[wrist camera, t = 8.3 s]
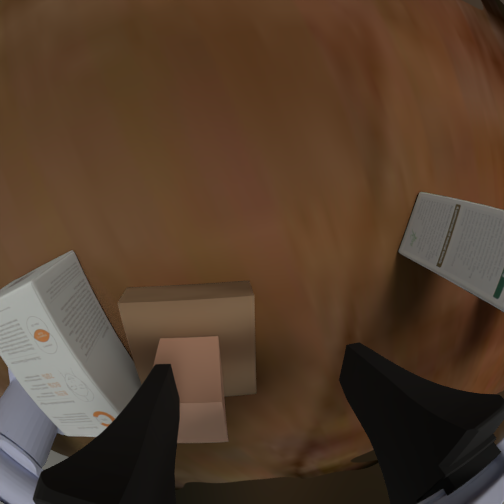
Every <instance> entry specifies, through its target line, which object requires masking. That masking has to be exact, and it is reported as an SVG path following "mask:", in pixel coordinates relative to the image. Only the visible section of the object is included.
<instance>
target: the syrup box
mask: <svg viewBox="0 0 504 504" xmlns="http://www.w3.org/2000/svg"><path fill="white" fill-rule="evenodd" d="M398 252H399V253H400V254H401V255H403V256H405V257H407V258H409V259H411V260H413V261H414V262H416V263H418V264H420V265H421V266H423V267H425V268H427V269H429V270H431V271H433V272H434V273H436V274H438V275H440V276H442V277H443V278H445V279H447V280H449V281H450V282H452V283H454V284H456V285H458V286H459V287H461V288H463V289H464V290H466V291H468V292H469V293H471V294H473V295H475V296H477V297H478V298H480V299H482V300H484V301H486V302H487V303H489V304H491V305H492V306H494V307H496V308H498V309H499V310H501V311H503V312H504V210H502V209H498V208H494V207H490V206H486V205H483V204H478V203H473V202H469V201H465V200H460V199H455V198H451V197H446V196H441V195H436V194H431V193H425V192H420V193H419V195H418V197H417V200H416V203H415V206H414V208H413V211H412V214H411V217H410V220H409V223H408V226H407V229H406V232H405V234H404V237H403V240H402V242H401V245H400V248H399V251H398Z"/></svg>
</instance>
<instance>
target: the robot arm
mask: <svg viewBox="0 0 504 504" xmlns="http://www.w3.org/2000/svg"><path fill="white" fill-rule="evenodd" d="M8 371H9V379H10V385H9V386H8V388H7V389H6V391H5V392H4V394H3V395H2V397H1V398H0V501H1V502H3V503H4V504H176V498H175V476H174V469H175V456H176V447H177V438H178V430H179V421H180V398H179V394H178V391H177V387H176V383H175V379H174V375H173V371H172V367H171V364H156V365H155V366H154V367H153V368H152V370H151V371H150V373H149V375H148V376H147V378H146V379H145V381H144V382H143V384H142V385H141V387H140V388H139V389H138V391H137V392H136V393H135V395H134V396H133V398H132V399H131V400H130V402H129V403H128V404H127V405H126V407H125V408H124V409H123V410H122V411H121V413H120V414H119V415H118V416H117V417H116V418H115V420H114V421H113V422H112V423H111V424H110V425H109V426H108V427H107V428H106V429H105V430H104V431H103V432H102V433H101V434H99V435H98V436H97V437H96V438H95V439H94V440H93V441H91V442H90V443H89V444H88V445H86V446H85V447H84V448H82V449H81V450H79V451H78V452H76V453H75V454H73V455H72V456H70V457H69V458H67V459H65V460H64V461H62V462H60V463H58V464H56V465H54V466H52V467H50V468H48V469H46V470H43V469H42V467H43V466H44V465H45V463H46V460H47V458H48V455H49V452H50V450H51V447H52V444H53V442H54V439H55V437H56V434H57V433H59V434H61V435H64V433H63V432H62V431H61V430H60V429H59V428H58V427H57V426H56V425H55V424H54V423H53V422H52V421H51V420H50V419H49V418H48V417H47V415H46V414H45V413H44V412H43V411H42V410H41V409H40V408H39V406H38V405H37V404H36V403H35V402H34V401H33V399H32V398H31V397H30V396H29V394H28V393H27V392H26V391H25V389H24V388H23V387H22V386H21V384H20V383H19V382H18V380H17V379H16V377H15V376H14V375H13V373H12V372H11V370H10V369H9V368H8ZM339 381H340V383H341V386H342V389H343V391H344V394H345V396H346V398H347V400H348V402H349V404H350V406H351V407H352V409H353V411H354V413H355V414H356V416H357V418H358V420H359V421H360V423H361V425H362V427H363V428H364V430H365V432H366V434H367V435H368V437H369V439H370V441H371V444H372V446H373V449H374V451H375V454H376V456H377V459H378V462H379V464H380V467H381V470H382V473H383V476H384V480H385V483H386V486H387V490H388V495H389V499H390V503H391V504H502V503H503V502H504V438H503V439H502V440H501V441H500V442H499V443H498V444H497V445H495V444H494V441H495V440H496V437H495V436H494V434H493V433H494V432H495V430H496V429H497V428H498V426H499V425H500V424H501V422H502V421H503V420H504V399H503V398H502V397H501V396H500V395H495V394H479V393H472V392H466V391H461V390H457V389H453V388H449V387H446V386H442V385H439V384H436V383H434V382H431V381H429V380H426V379H424V378H421V377H419V376H417V375H415V374H413V373H411V372H409V371H407V370H405V369H403V368H401V367H400V366H398V365H396V364H394V363H393V362H391V361H389V360H388V359H386V358H384V357H383V356H381V355H379V354H378V353H376V352H374V351H373V350H371V349H369V348H368V347H366V346H364V345H363V344H361V343H354V344H349V345H346V350H345V355H344V360H343V365H342V369H341V374H340V378H339Z"/></svg>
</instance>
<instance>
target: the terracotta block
mask: <svg viewBox="0 0 504 504" xmlns="http://www.w3.org/2000/svg"><path fill="white" fill-rule="evenodd" d="M156 364H171V367H172V371H173V375H174V379H175V383H176V387H177V391H178V394H179V398H180V421H179V430H178V438H177V443H215V442H228V433H227V422H226V411H225V399H224V387H223V375H222V366H221V358H220V348H219V339H218V336H209V337H187V338H160V341H159V344H158V348H157V353H156V357H155V361H154V365H153V367H154V366H155V365H156Z"/></svg>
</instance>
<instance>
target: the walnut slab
mask: <svg viewBox="0 0 504 504" xmlns="http://www.w3.org/2000/svg"><path fill="white" fill-rule="evenodd" d="M118 307H119V311H120V315H121V319H122V323H123V327H124V331H125V334H126V338H127V341H128V345H129V348H130V351H131V354H132V358H133V361H134V364H135V367H136V370H137V373H138V376H139V379H140V381H141V384H143V382H144V381H145V379H146V378H147V376H148V375H149V373H150V371H151V370H152V368H153V365H154V361H155V357H156V353H157V348H158V344H159V341H160V338H187V337H209V336H218V339H219V348H220V358H221V366H222V375H223V387H224V397H227V396H239V395H249V394H256V353H255V305H254V293H253V290H252V287H251V284H250V281H236V282H221V283H206V284H189V285H171V286H152V287H129V288H126V290H125V292H124V293H123V295H122V296H121V298H120V300H119V301H118Z"/></svg>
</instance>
